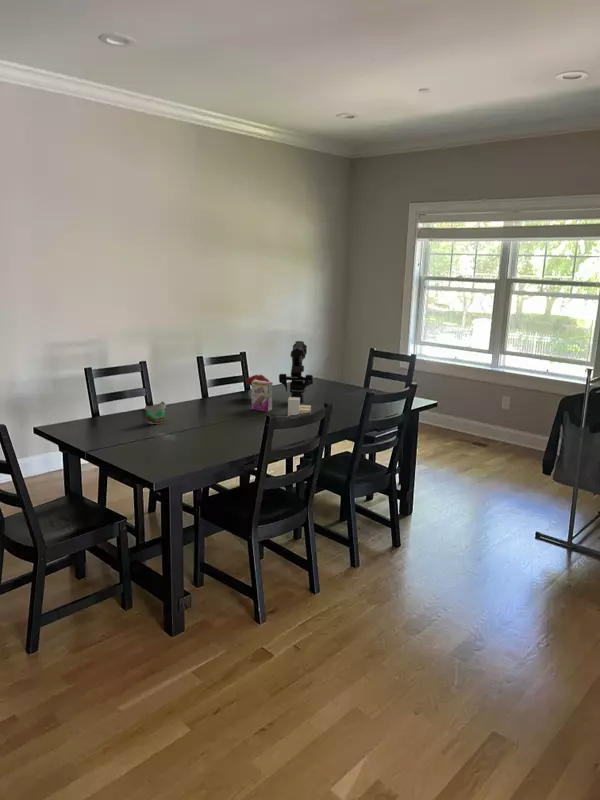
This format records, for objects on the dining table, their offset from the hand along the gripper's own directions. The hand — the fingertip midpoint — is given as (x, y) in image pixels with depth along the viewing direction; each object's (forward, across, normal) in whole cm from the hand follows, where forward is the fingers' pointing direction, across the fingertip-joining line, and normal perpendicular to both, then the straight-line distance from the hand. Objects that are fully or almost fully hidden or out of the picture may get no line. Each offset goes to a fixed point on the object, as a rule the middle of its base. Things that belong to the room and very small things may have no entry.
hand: (295, 391), depth 341 cm
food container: (+31, -67, -14) cm, 75 cm away
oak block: (+7, +3, +11) cm, 13 cm away
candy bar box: (+7, -19, +11) cm, 23 cm away
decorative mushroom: (-11, -23, +28) cm, 38 cm away
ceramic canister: (+14, 0, +4) cm, 14 cm away
